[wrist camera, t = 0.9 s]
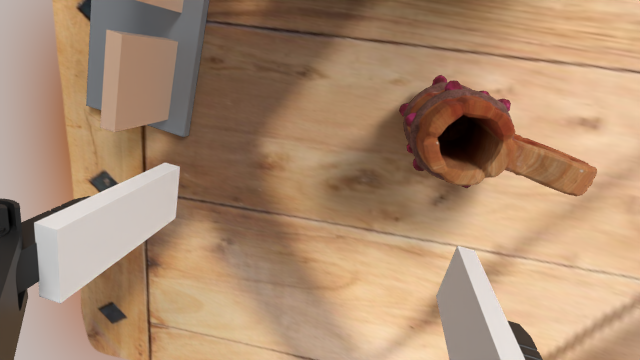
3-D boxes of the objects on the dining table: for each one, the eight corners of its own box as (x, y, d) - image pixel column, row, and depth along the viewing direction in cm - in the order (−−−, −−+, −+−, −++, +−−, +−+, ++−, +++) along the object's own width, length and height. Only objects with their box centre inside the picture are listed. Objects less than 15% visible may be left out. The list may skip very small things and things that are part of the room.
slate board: (106, -122, 37) (97, -127, 35) (223, -90, 36) (217, -95, 35) (93, 104, 45) (86, 105, 43) (188, 135, 44) (183, 136, 43)
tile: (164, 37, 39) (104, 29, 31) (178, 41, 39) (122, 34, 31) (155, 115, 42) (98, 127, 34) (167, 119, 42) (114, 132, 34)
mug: (385, 139, 40) (387, 177, 26) (413, 67, 37) (432, 65, 23) (510, 183, 39) (584, 248, 25) (548, 112, 36) (655, 141, 22)
